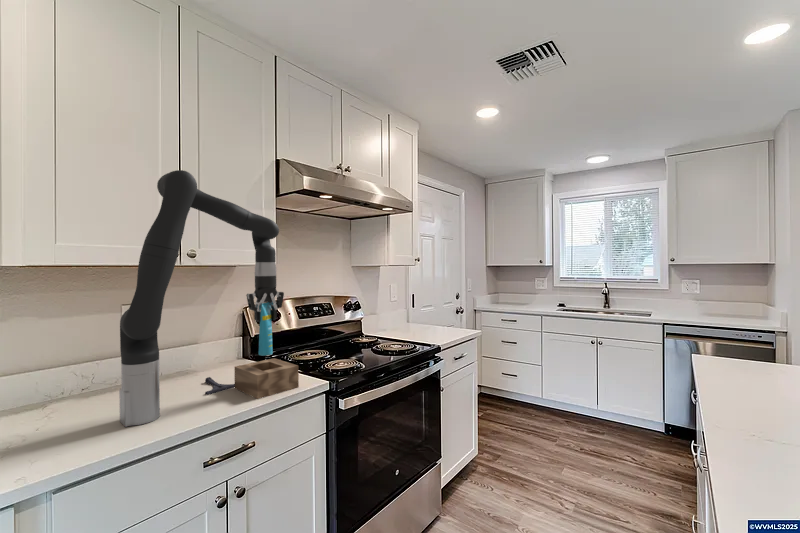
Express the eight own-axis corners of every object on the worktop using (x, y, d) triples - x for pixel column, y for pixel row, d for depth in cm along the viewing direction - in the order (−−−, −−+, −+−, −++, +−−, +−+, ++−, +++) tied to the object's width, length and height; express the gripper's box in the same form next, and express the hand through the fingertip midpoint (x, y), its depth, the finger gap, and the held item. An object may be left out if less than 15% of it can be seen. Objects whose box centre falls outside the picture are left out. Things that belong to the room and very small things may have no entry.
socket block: (257, 398, 128) (257, 375, 128) (234, 388, 139) (234, 366, 139) (298, 387, 140) (298, 365, 140) (274, 378, 151) (274, 358, 151)
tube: (269, 356, 136) (269, 303, 136) (255, 356, 135) (255, 303, 135) (275, 352, 143) (274, 301, 143) (262, 352, 143) (261, 301, 143)
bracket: (224, 379, 152) (224, 372, 152) (245, 386, 144) (245, 378, 144) (187, 389, 141) (187, 381, 141) (207, 397, 132) (207, 389, 132)
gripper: (251, 275, 131) (252, 324, 131) (288, 274, 142) (288, 319, 142) (241, 275, 136) (242, 322, 136) (277, 274, 147) (278, 317, 147)
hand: (265, 320), depth 139 cm, fingers closed on tube, 5 cm apart
